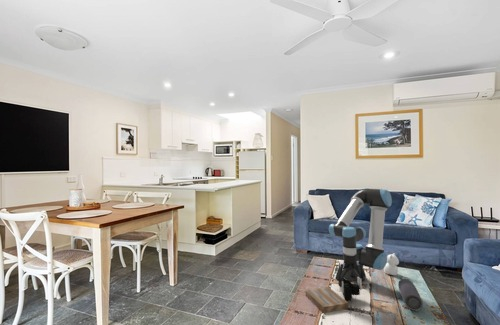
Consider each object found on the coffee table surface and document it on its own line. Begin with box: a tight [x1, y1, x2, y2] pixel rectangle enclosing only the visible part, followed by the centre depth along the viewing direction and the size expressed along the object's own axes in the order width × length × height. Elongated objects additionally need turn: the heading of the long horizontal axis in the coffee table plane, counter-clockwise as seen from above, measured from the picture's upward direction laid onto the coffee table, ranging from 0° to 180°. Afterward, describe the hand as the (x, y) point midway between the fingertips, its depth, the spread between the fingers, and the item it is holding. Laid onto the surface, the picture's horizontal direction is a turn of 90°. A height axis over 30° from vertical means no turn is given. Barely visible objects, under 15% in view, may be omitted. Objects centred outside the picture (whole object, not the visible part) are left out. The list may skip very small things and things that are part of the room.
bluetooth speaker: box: [397, 277, 423, 311], centre depth 147 cm, size 23×9×10 cm, turn 157°
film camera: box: [342, 278, 361, 302], centre depth 152 cm, size 15×10×9 cm, turn 170°
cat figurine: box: [382, 252, 400, 276], centre depth 189 cm, size 9×12×15 cm
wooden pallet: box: [305, 286, 350, 314], centre depth 148 cm, size 16×20×3 cm
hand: (350, 290), depth 151 cm, fingers closed on film camera, 12 cm apart
